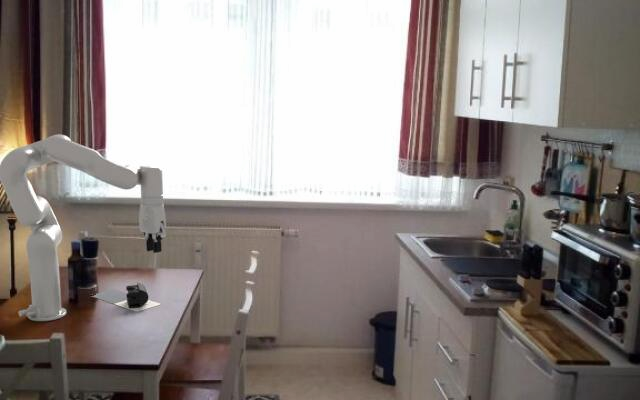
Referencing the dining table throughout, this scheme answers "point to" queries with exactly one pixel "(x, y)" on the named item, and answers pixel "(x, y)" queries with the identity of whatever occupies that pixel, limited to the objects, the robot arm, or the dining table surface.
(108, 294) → the mat
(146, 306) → the board
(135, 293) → the end cap
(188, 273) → the dining table surface
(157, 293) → the dining table surface
